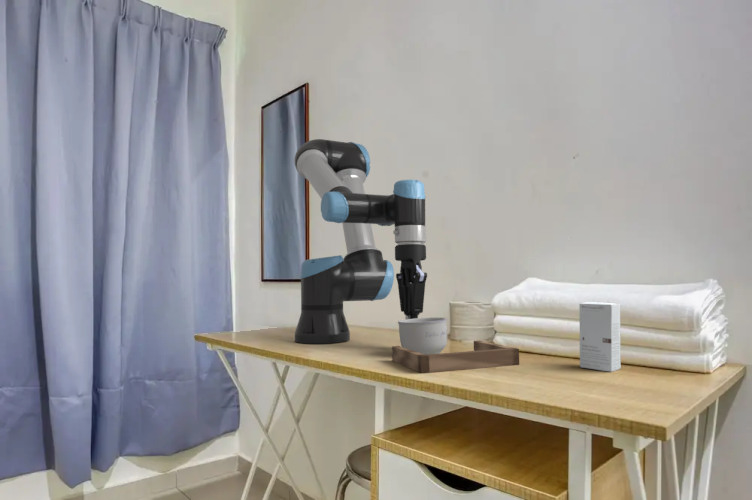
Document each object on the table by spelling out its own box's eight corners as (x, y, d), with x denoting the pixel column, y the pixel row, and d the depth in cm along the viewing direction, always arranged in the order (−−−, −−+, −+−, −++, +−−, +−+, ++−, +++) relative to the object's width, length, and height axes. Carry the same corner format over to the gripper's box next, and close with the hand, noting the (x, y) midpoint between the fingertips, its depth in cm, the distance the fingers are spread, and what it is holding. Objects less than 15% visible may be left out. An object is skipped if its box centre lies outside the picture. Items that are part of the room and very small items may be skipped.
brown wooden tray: (392, 361, 101) (392, 346, 101) (479, 354, 108) (479, 340, 108) (422, 373, 88) (421, 356, 88) (519, 364, 95) (518, 348, 95)
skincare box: (579, 368, 91) (576, 302, 91) (589, 364, 94) (587, 301, 94) (613, 372, 86) (610, 303, 87) (623, 369, 89) (620, 302, 90)
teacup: (432, 360, 101) (431, 321, 101) (389, 355, 107) (388, 319, 108) (462, 351, 112) (461, 316, 112) (421, 348, 118) (421, 314, 119)
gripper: (385, 246, 123) (387, 340, 121) (407, 242, 111) (409, 347, 109) (413, 246, 125) (414, 338, 124) (436, 242, 113) (438, 344, 112)
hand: (412, 342), depth 117 cm, fingers closed
